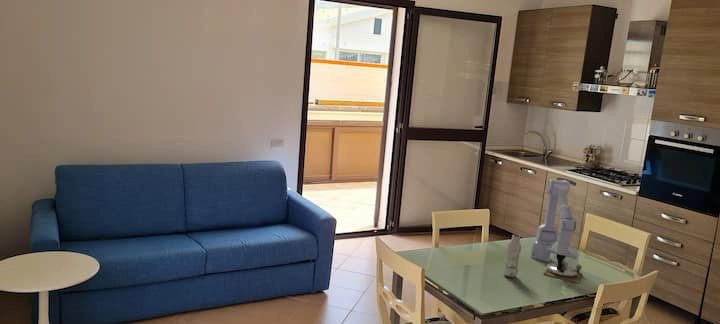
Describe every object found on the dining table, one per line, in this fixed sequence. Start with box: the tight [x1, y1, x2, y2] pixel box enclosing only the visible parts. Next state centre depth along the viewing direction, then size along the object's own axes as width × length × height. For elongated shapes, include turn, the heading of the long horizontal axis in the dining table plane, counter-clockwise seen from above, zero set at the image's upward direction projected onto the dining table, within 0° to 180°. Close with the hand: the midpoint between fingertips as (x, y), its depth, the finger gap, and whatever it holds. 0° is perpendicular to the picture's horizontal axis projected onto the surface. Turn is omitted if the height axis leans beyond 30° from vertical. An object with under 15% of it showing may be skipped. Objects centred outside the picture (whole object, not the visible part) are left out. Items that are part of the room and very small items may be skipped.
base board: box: [543, 263, 583, 285], centre depth 274 cm, size 16×16×5 cm
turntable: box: [546, 262, 577, 277], centre depth 275 cm, size 14×14×6 cm
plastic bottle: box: [502, 234, 522, 278], centre depth 262 cm, size 6×7×20 cm
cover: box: [556, 259, 569, 270], centre depth 275 cm, size 5×5×4 cm
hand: (558, 269), depth 270 cm, fingers closed, pressing on turntable
